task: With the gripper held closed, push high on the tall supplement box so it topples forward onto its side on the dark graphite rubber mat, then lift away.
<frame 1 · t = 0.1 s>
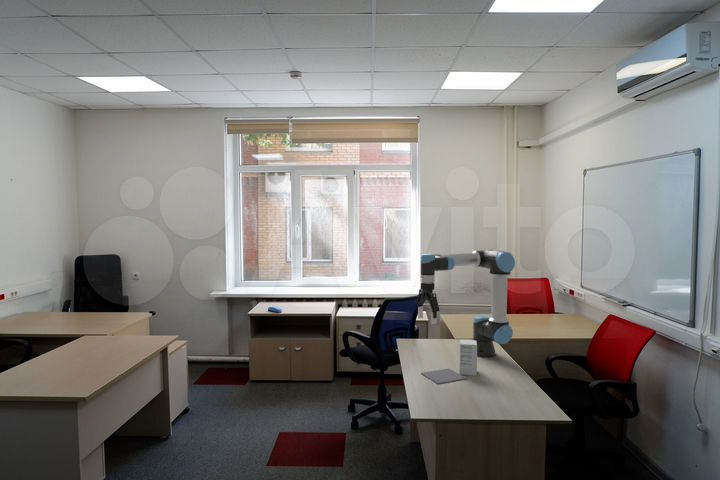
hand: (427, 321, 256), 28 cm above the table, tool pointing down, fingers open, 13 cm apart
graphite mat: (443, 376, 250), on the table
supplement box: (467, 372, 256), on the table
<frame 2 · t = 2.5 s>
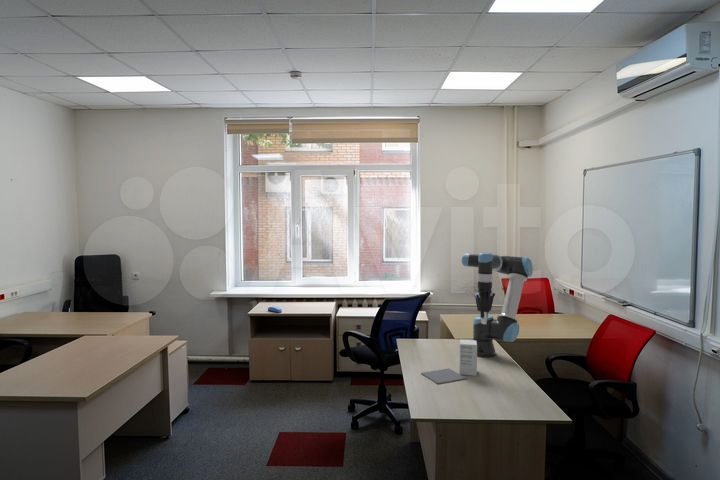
hand: (483, 323, 258), 26 cm above the table, tool pointing down, fingers closed
nothing on the table moved.
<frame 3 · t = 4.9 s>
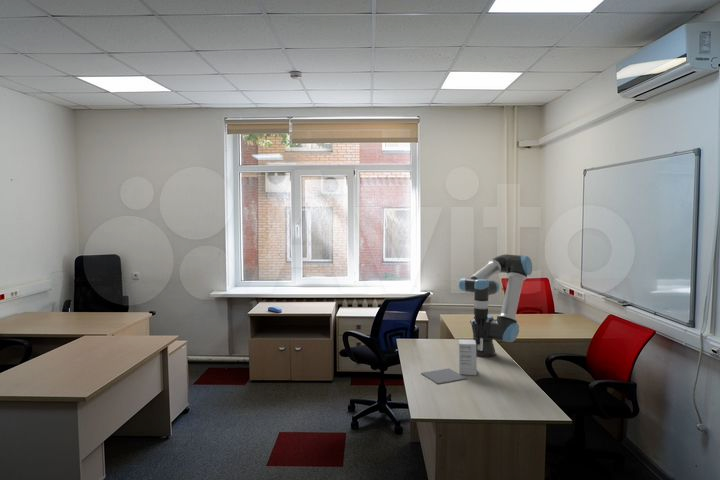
hand: (480, 349, 258), 12 cm above the table, tool pointing down, fingers closed
supplement box: (467, 372, 256), on the table, touching gripper
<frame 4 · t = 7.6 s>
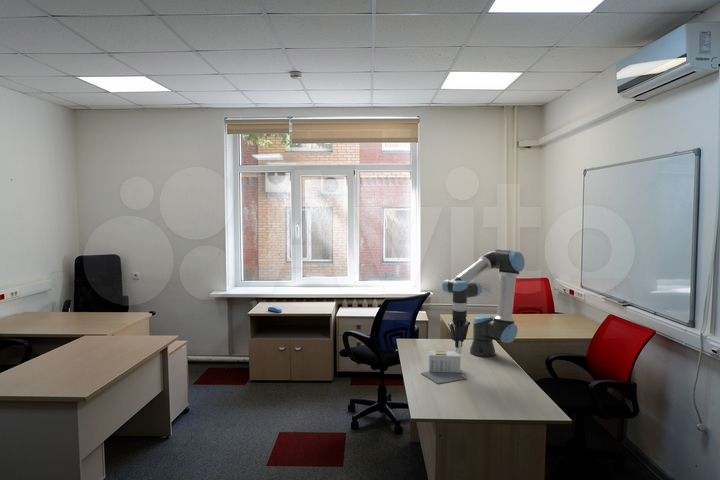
hand: (458, 353, 253), 12 cm above the table, tool pointing down, fingers closed
supplement box: (460, 361, 257), point 5 cm above the table, touching graphite mat
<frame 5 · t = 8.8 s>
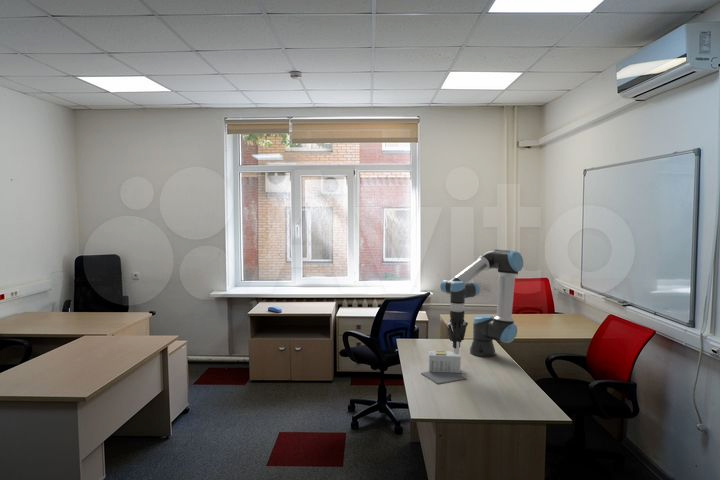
hand: (456, 353, 252), 11 cm above the table, tool pointing down, fingers closed
nothing on the table moved.
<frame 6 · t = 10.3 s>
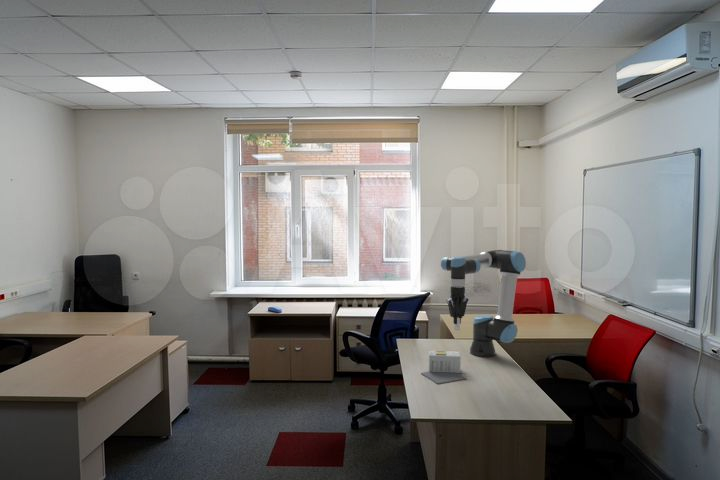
hand: (457, 329, 251), 24 cm above the table, tool pointing down, fingers closed
nothing on the table moved.
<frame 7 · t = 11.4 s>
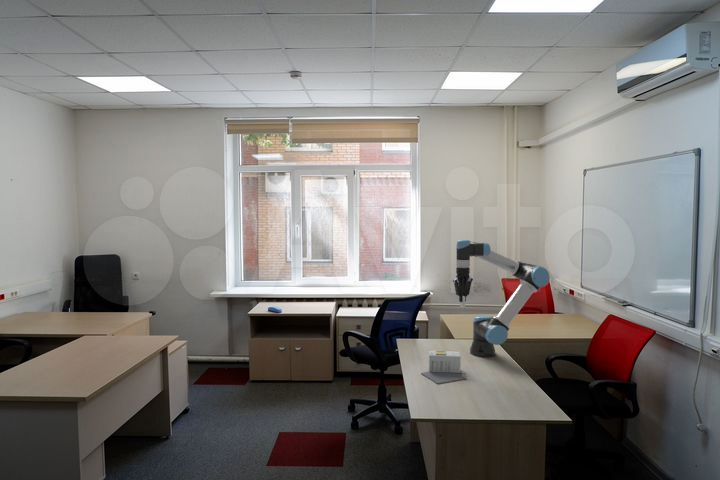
hand: (462, 307, 271), 32 cm above the table, tool pointing down, fingers closed
nothing on the table moved.
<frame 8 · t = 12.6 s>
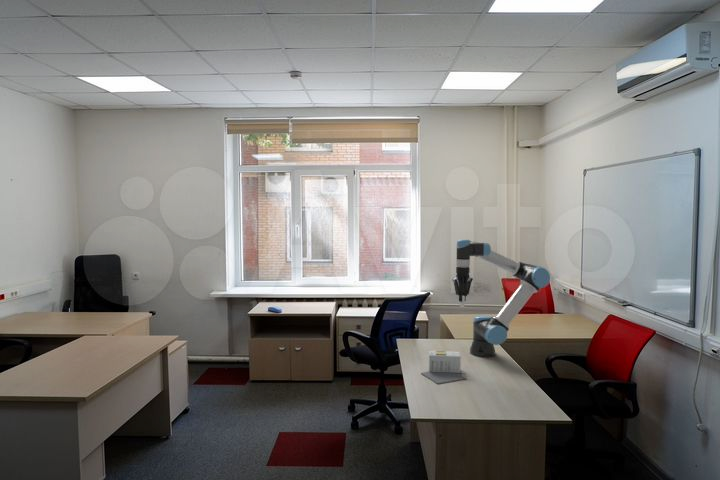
hand: (462, 306, 271), 32 cm above the table, tool pointing down, fingers closed
nothing on the table moved.
at the end: supplement box tilted 90°; supplement box touching graphite mat; supplement box inside the target area (7.4 cm from its centre), point 5.2 cm above the table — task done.
